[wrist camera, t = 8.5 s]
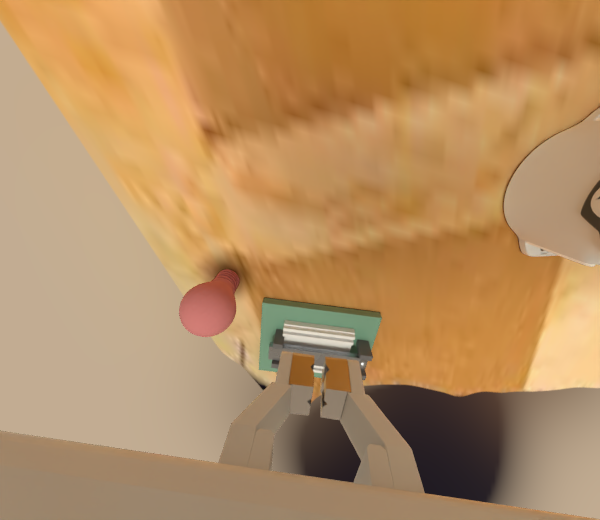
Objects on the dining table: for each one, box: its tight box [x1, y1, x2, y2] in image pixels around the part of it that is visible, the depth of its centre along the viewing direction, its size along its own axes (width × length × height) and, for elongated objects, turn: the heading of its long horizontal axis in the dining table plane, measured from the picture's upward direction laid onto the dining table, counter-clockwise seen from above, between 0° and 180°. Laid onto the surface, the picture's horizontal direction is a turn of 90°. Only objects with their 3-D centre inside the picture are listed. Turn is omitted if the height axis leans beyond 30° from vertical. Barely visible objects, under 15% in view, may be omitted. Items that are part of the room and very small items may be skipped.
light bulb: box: [179, 269, 239, 337], centre depth 34 cm, size 7×7×12 cm
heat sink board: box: [259, 298, 382, 380], centre depth 42 cm, size 20×16×5 cm
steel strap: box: [268, 342, 368, 373], centre depth 40 cm, size 17×3×2 cm, turn 84°
